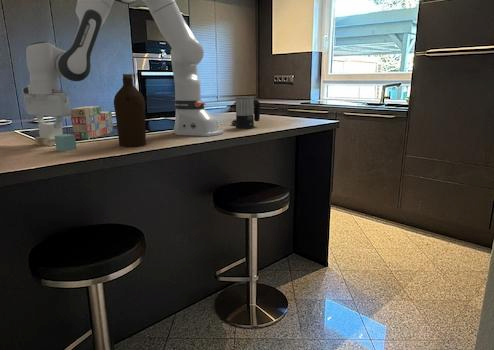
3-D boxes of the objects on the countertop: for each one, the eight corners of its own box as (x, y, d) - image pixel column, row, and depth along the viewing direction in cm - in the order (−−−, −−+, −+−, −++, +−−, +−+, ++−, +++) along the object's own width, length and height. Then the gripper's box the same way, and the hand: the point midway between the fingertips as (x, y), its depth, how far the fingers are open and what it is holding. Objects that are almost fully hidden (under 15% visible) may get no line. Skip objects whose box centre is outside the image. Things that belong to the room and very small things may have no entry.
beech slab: (69, 144, 139) (68, 136, 138) (50, 147, 132) (48, 139, 131) (55, 142, 142) (54, 134, 141) (35, 145, 135) (34, 137, 134)
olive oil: (153, 144, 134) (148, 74, 127) (125, 148, 127) (119, 74, 120) (139, 141, 141) (134, 74, 135) (112, 144, 134) (106, 74, 128)
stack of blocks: (101, 131, 167) (98, 104, 164) (114, 132, 166) (111, 104, 163) (73, 139, 146) (69, 108, 143) (88, 139, 145) (84, 108, 142)
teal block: (76, 149, 126) (75, 134, 125) (65, 151, 122) (63, 136, 121) (67, 148, 128) (65, 134, 127) (56, 150, 124) (54, 135, 123)
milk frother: (247, 129, 174) (247, 97, 170) (220, 127, 182) (220, 96, 178) (262, 126, 185) (262, 96, 182) (236, 124, 194) (236, 95, 190)
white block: (63, 136, 137) (61, 123, 136) (50, 138, 133) (48, 124, 131) (53, 135, 140) (51, 122, 138) (40, 137, 135) (38, 123, 134)
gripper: (72, 89, 130) (77, 128, 134) (34, 88, 139) (40, 125, 142) (57, 90, 125) (62, 130, 128) (18, 89, 133) (24, 127, 137)
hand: (50, 127), depth 135 cm, fingers open, 6 cm apart
